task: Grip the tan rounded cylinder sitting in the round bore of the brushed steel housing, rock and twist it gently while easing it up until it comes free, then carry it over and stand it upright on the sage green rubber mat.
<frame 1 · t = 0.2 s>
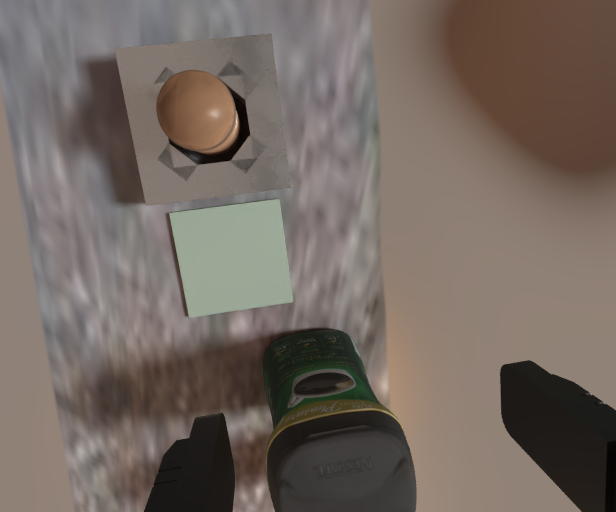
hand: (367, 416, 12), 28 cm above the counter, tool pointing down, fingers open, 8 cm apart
housing: (212, 126, 36), on the counter
mat: (233, 258, 39), on the counter
coffee jar: (311, 363, 42), on the counter
tan rounded cylinder: (205, 120, 32), in the housing
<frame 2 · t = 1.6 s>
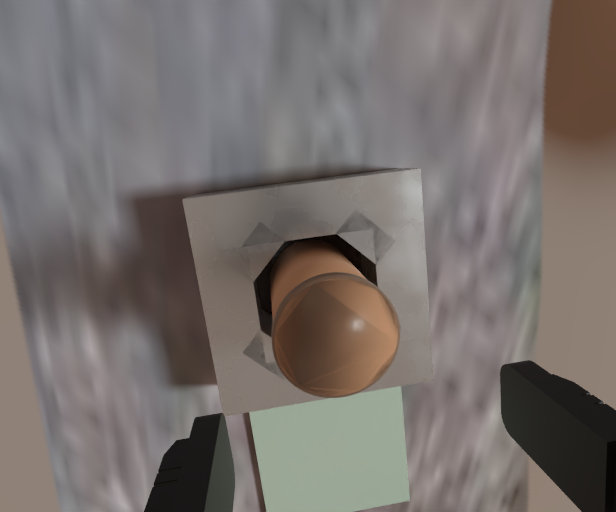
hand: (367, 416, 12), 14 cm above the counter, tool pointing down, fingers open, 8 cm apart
housing: (310, 279, 25), on the counter
mat: (331, 448, 28), on the counter
tan rounded cylinder: (321, 303, 21), in the housing
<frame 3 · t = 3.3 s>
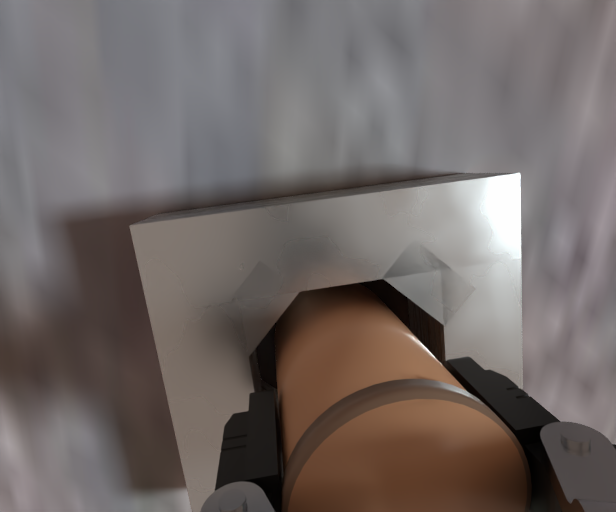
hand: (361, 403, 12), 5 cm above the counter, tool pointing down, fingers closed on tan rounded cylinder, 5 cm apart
housing: (334, 337, 17), on the counter
tan rounded cylinder: (359, 394, 13), in the housing, touching gripper
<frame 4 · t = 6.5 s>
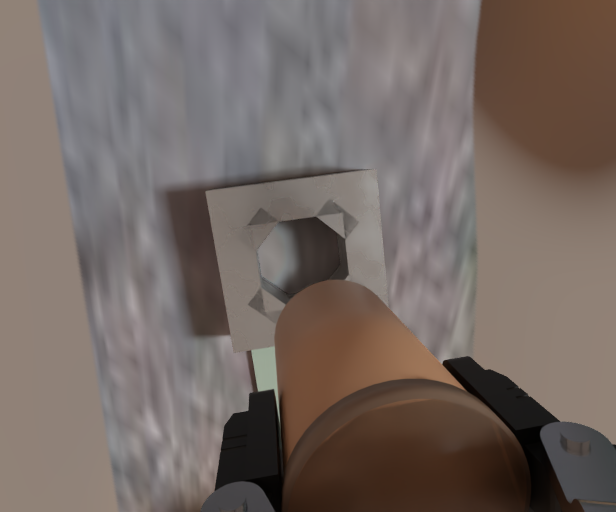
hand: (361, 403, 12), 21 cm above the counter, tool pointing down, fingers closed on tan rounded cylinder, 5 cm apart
housing: (299, 254, 33), on the counter
mat: (316, 387, 35), on the counter
tan rounded cylinder: (359, 394, 13), point 21 cm above the counter, touching gripper
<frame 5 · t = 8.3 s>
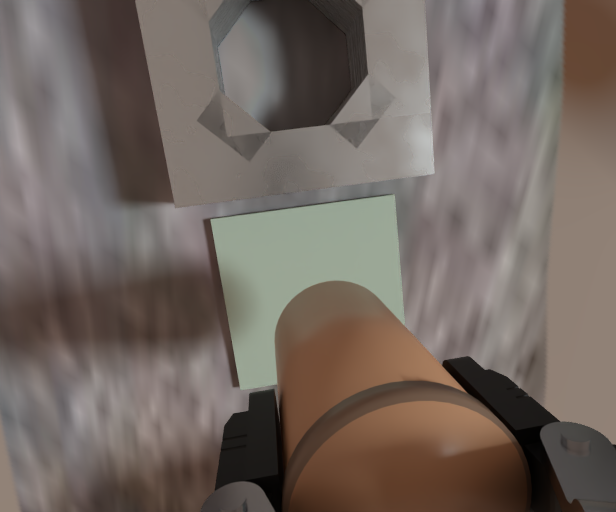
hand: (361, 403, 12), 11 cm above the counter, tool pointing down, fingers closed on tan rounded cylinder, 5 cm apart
housing: (286, 69, 21), on the counter
mat: (314, 293, 23), on the counter
tan rounded cylinder: (359, 395, 13), point 11 cm above the counter, touching gripper
when the fingers open (7 cm above the counter, at t = 9.7 s): tan rounded cylinder drops 1 cm, resting on mat.
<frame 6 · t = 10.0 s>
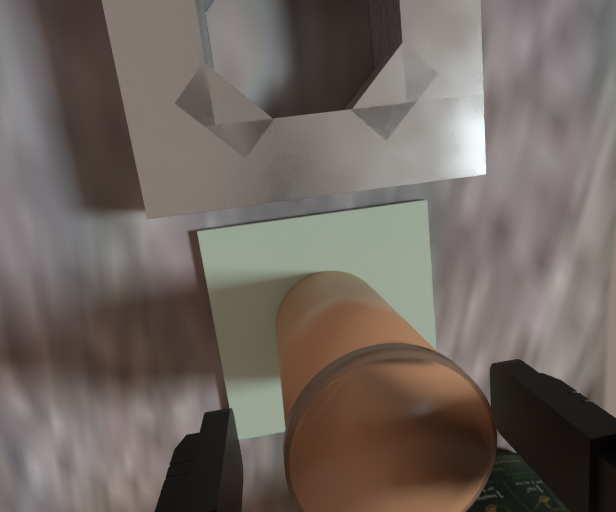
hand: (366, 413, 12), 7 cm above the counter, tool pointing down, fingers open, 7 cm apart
housing: (292, 41, 16), on the counter
mat: (326, 321, 19), on the counter
coffee jar: (459, 509, 22), on the counter
tan rounded cylinder: (352, 369, 14), on the mat
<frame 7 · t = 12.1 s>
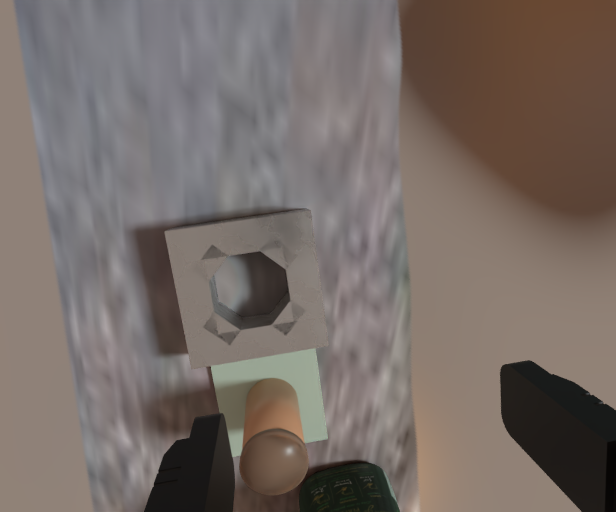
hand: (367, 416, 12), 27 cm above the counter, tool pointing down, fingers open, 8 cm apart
housing: (251, 281, 38), on the counter
mat: (270, 400, 40), on the counter
coffee jar: (344, 493, 43), on the counter
tan rounded cylinder: (273, 429, 35), on the mat
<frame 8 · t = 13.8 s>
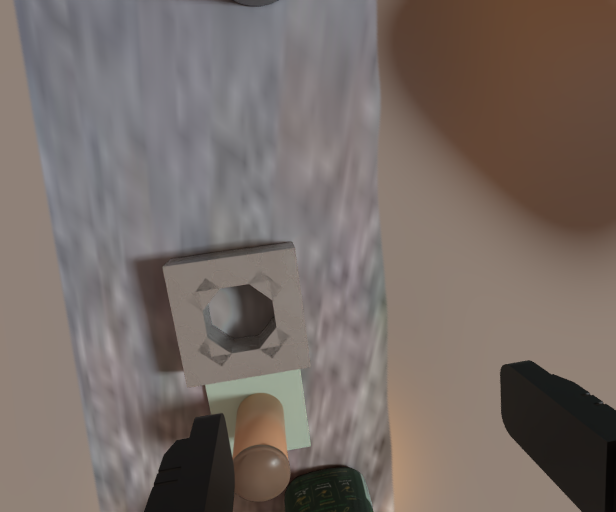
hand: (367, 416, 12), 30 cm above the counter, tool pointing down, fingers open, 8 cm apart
housing: (241, 307, 42), on the counter
mat: (259, 411, 44), on the counter
coffee jar: (326, 493, 47), on the counter
tan rounded cylinder: (260, 441, 39), on the mat
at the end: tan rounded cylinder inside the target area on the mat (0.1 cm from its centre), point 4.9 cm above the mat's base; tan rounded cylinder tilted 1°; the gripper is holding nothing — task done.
